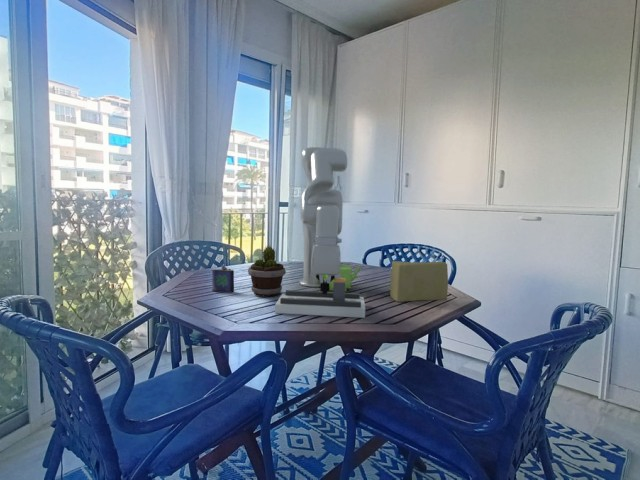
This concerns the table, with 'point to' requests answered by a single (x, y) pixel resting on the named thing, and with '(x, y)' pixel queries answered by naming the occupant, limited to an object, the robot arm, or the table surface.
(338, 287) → the block
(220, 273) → the flask
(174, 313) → the table surface
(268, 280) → the flowerpot
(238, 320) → the table surface
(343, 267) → the kettle
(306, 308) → the breaker panel
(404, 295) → the cheese
